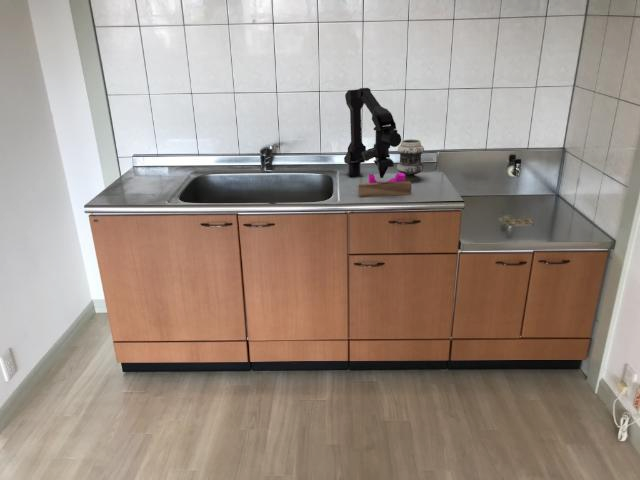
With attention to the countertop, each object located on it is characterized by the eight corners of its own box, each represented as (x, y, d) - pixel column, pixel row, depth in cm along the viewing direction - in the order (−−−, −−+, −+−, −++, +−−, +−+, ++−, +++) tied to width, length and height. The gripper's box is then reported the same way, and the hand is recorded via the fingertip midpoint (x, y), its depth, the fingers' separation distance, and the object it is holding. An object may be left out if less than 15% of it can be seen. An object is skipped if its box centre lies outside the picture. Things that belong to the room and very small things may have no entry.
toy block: (400, 187, 224) (401, 171, 221) (404, 192, 218) (404, 175, 215) (367, 189, 223) (367, 172, 220) (369, 193, 217) (370, 176, 214)
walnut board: (358, 194, 216) (358, 183, 214) (409, 192, 218) (409, 181, 216) (359, 197, 213) (359, 185, 211) (410, 194, 215) (411, 183, 213)
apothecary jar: (412, 174, 242) (414, 136, 235) (428, 180, 232) (430, 141, 225) (391, 178, 238) (392, 139, 230) (405, 184, 228) (407, 144, 220)
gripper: (359, 138, 222) (359, 173, 228) (367, 148, 205) (367, 185, 211) (384, 137, 223) (383, 171, 229) (394, 146, 206) (393, 183, 212)
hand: (381, 177), depth 220 cm, fingers closed
